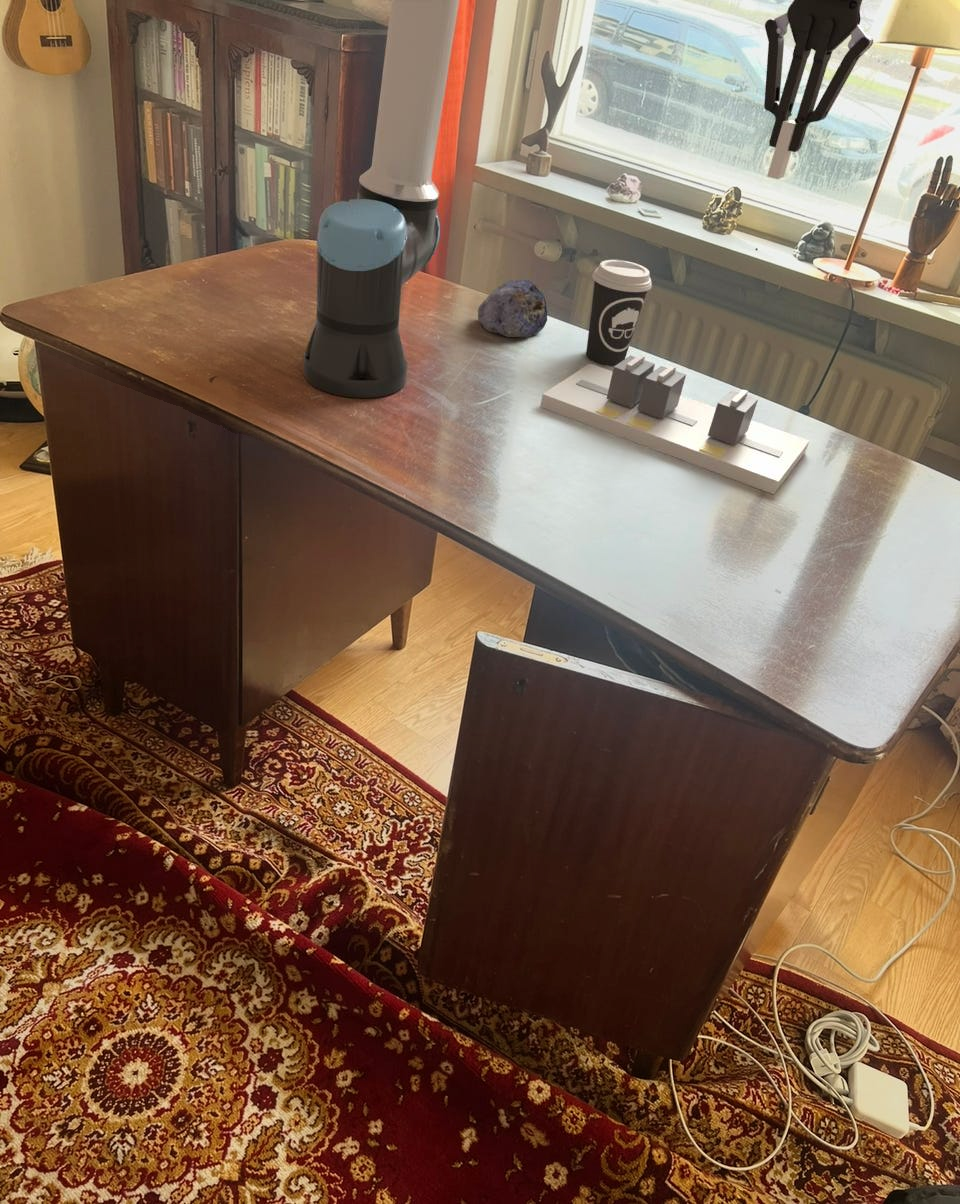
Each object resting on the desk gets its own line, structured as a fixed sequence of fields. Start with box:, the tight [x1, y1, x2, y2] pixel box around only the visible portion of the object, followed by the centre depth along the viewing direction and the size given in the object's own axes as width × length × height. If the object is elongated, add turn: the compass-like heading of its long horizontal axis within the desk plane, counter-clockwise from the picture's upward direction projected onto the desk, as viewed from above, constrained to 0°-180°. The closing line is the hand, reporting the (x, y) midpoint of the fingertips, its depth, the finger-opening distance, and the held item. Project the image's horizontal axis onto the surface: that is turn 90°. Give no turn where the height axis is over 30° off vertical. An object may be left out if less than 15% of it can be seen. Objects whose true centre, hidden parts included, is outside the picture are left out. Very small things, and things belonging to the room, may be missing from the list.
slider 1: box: [607, 354, 656, 408], centre depth 135 cm, size 4×6×6 cm, turn 149°
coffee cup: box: [585, 259, 653, 367], centre depth 150 cm, size 10×10×15 cm
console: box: [540, 363, 810, 495], centre depth 135 cm, size 36×16×2 cm, turn 59°
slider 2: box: [637, 364, 687, 419], centre depth 134 cm, size 4×6×6 cm, turn 149°
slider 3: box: [708, 389, 759, 445], centre depth 130 cm, size 4×6×6 cm, turn 149°
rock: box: [477, 279, 548, 338], centre depth 158 cm, size 11×10×10 cm
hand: (775, 176), depth 120 cm, fingers closed
